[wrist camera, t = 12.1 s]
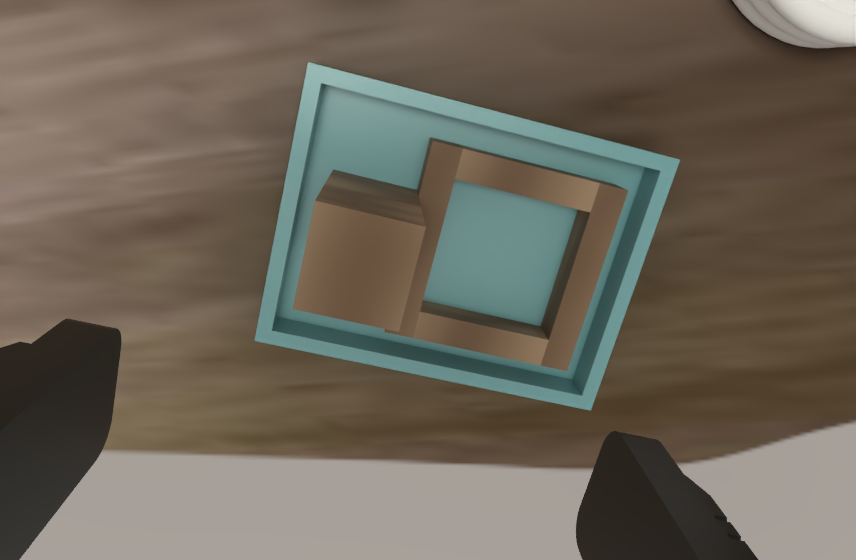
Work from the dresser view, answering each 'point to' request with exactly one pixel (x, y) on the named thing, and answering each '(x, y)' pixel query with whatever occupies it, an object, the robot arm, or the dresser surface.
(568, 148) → the tray
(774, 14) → the white round disc
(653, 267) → the dresser surface
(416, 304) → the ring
